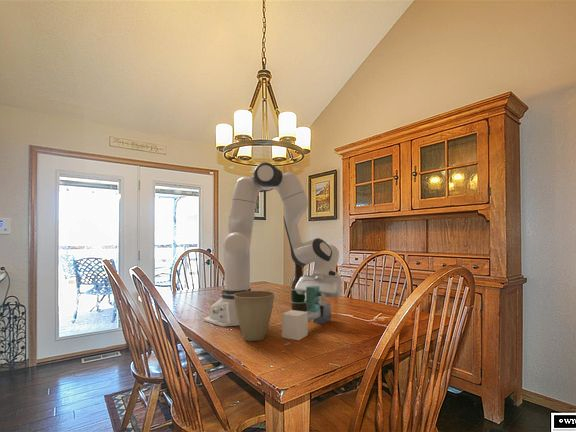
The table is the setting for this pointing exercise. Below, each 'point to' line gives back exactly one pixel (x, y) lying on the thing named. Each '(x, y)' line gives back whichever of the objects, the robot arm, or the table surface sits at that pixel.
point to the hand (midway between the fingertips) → (312, 303)
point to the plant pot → (254, 313)
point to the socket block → (294, 324)
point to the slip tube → (313, 303)
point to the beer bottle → (296, 298)
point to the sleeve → (324, 313)
